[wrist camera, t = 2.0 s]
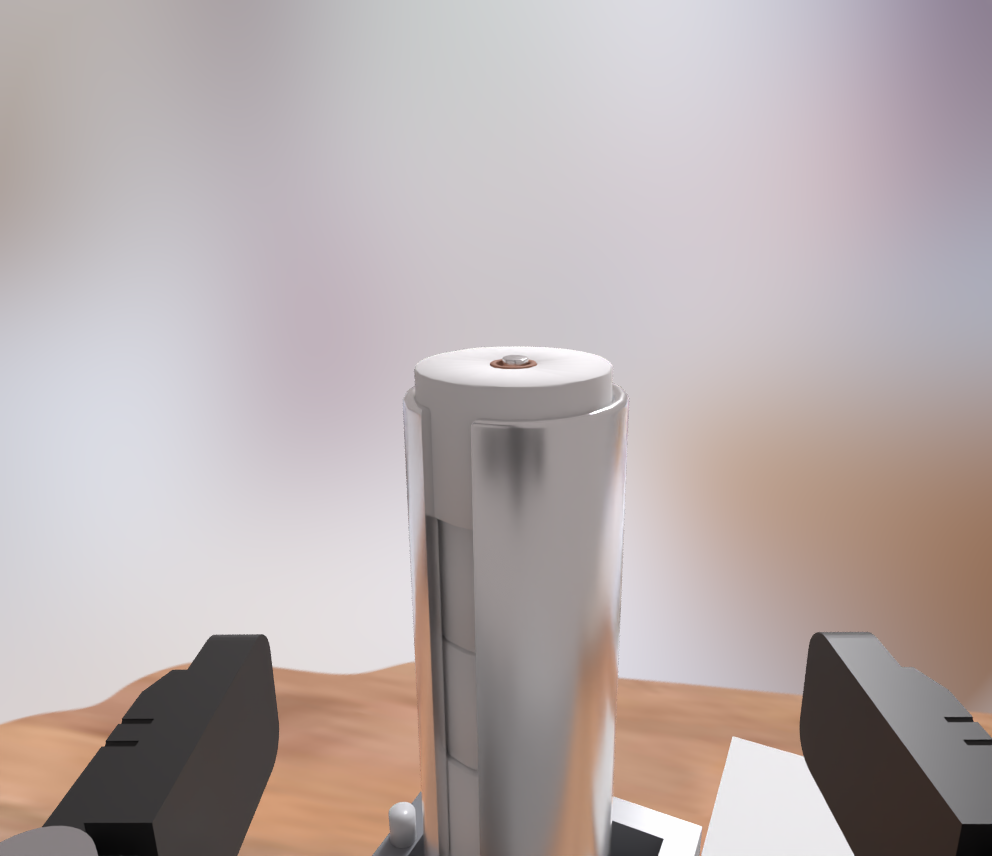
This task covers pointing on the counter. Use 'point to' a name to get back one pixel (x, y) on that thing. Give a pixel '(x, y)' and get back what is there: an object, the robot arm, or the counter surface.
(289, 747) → the counter surface
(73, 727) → the counter surface
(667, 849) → the housing collar
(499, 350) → the silver metal canister
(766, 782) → the rubber mat
